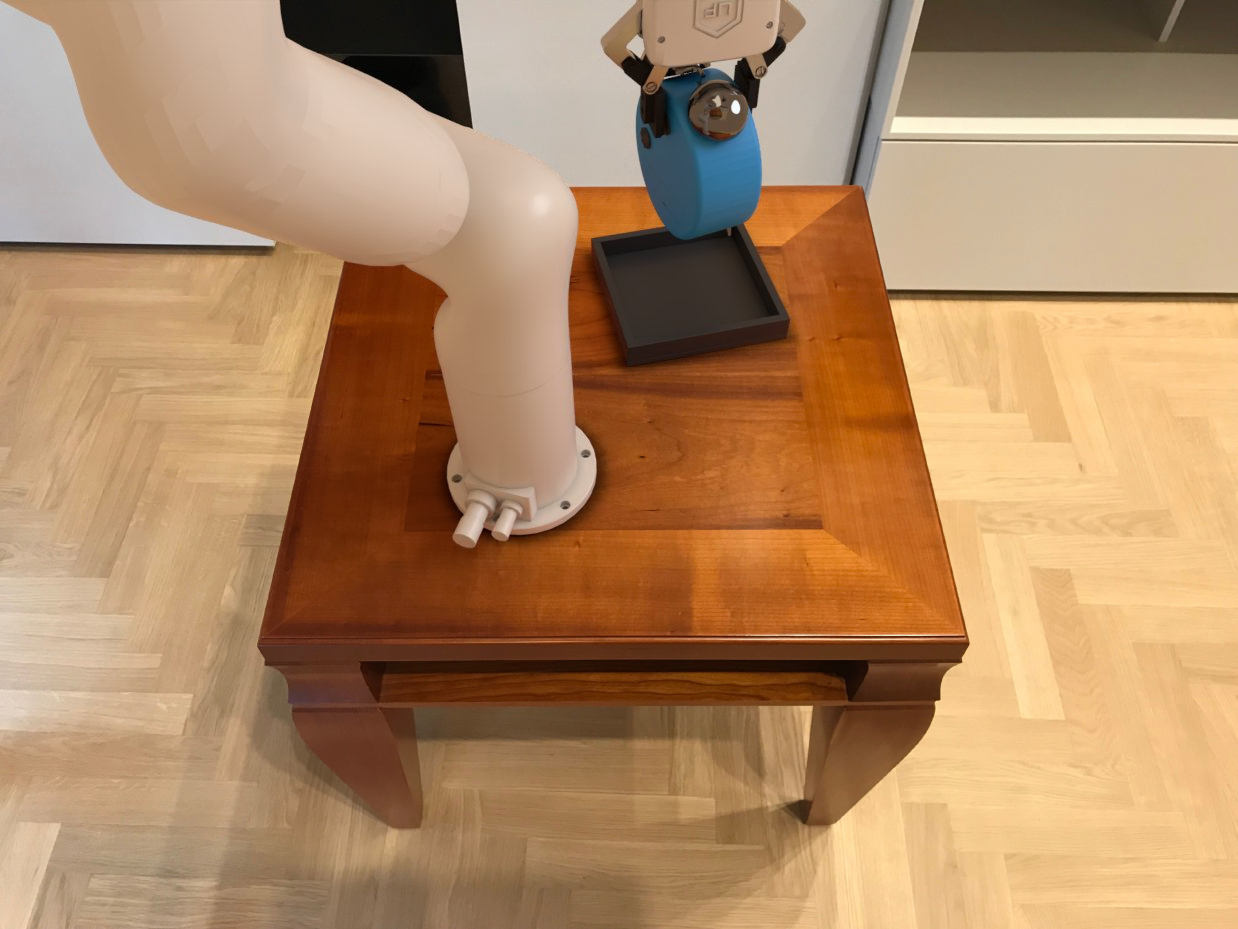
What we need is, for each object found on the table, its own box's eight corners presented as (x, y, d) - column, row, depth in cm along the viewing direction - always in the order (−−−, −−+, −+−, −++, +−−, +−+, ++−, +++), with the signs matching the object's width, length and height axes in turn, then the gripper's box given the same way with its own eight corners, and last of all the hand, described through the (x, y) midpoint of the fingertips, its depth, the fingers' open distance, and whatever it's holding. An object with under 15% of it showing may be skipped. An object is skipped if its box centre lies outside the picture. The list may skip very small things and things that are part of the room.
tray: (786, 338, 90) (790, 318, 88) (627, 367, 88) (627, 347, 86) (736, 233, 99) (739, 213, 97) (591, 257, 97) (590, 237, 95)
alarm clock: (754, 254, 83) (776, 99, 71) (691, 273, 82) (702, 119, 69) (690, 170, 90) (700, 16, 78) (631, 186, 89) (631, 32, 77)
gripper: (600, -74, 60) (605, 164, 75) (856, -104, 63) (813, 133, 77) (576, -123, 65) (585, 111, 79) (816, -150, 67) (782, 82, 81)
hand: (698, 120), depth 78 cm, fingers closed on alarm clock, 6 cm apart
